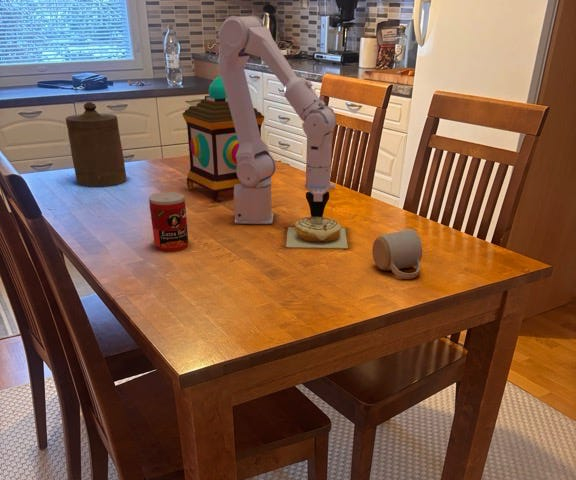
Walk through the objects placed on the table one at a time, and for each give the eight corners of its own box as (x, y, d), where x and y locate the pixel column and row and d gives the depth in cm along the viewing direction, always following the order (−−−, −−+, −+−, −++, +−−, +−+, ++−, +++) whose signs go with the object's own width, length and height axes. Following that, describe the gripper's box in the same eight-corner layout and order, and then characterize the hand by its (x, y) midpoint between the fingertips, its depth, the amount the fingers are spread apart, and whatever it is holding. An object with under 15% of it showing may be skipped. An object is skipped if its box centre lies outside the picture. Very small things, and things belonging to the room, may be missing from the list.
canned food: (160, 253, 128) (154, 203, 122) (150, 242, 134) (144, 194, 128) (193, 248, 131) (189, 199, 125) (182, 237, 137) (177, 190, 131)
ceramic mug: (368, 264, 123) (371, 228, 119) (401, 258, 126) (405, 223, 122) (394, 283, 115) (399, 246, 111) (429, 277, 118) (435, 240, 114)
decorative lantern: (273, 194, 168) (272, 77, 152) (213, 205, 159) (205, 82, 142) (238, 179, 182) (234, 71, 166) (181, 188, 173) (170, 75, 156)
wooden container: (105, 172, 188) (93, 97, 176) (136, 179, 181) (126, 101, 169) (66, 182, 178) (51, 103, 166) (98, 189, 171) (84, 108, 159)
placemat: (286, 247, 132) (286, 246, 131) (288, 227, 143) (288, 227, 143) (347, 248, 131) (347, 247, 131) (344, 228, 143) (344, 228, 143)
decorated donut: (327, 247, 131) (327, 231, 129) (286, 239, 136) (286, 223, 134) (347, 234, 139) (348, 218, 137) (308, 226, 143) (309, 211, 141)
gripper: (337, 173, 128) (333, 233, 136) (334, 158, 140) (332, 214, 148) (305, 172, 129) (303, 232, 136) (305, 158, 141) (304, 214, 148)
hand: (316, 223), depth 142 cm, fingers closed
